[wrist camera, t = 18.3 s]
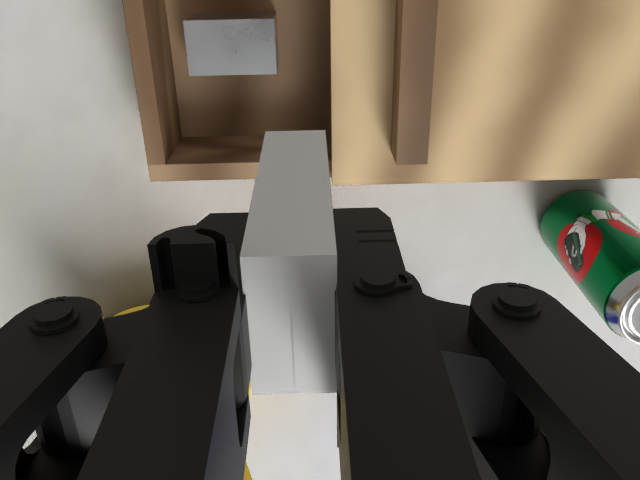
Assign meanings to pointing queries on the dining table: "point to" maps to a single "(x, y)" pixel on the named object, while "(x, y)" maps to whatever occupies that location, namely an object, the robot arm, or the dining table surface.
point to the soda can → (598, 256)
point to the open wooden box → (225, 88)
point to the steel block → (231, 43)
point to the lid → (484, 90)
